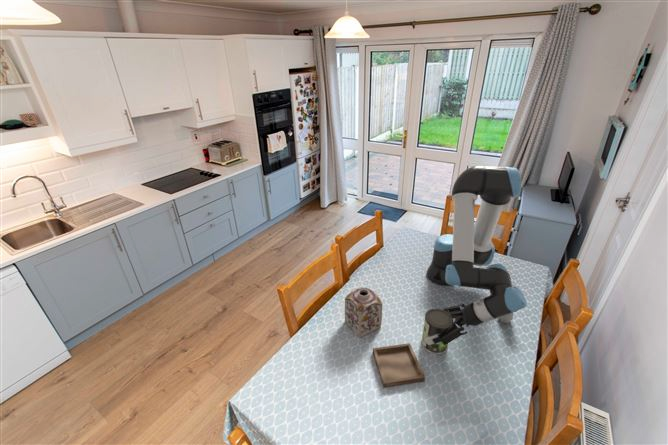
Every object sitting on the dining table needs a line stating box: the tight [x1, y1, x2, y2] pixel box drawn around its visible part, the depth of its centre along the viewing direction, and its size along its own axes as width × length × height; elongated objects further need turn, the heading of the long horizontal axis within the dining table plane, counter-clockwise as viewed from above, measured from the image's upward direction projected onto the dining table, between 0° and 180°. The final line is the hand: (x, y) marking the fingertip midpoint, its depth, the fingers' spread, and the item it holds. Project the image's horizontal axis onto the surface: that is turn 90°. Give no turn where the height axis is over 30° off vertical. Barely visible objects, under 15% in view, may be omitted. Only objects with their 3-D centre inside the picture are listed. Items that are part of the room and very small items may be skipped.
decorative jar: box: [344, 286, 383, 338], centre depth 130 cm, size 12×12×18 cm
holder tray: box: [372, 342, 426, 389], centre depth 115 cm, size 15×15×2 cm
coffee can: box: [421, 308, 454, 355], centre depth 121 cm, size 10×10×14 cm
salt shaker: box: [497, 312, 514, 324], centre depth 132 cm, size 6×6×13 cm
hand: (428, 331), depth 123 cm, fingers closed on coffee can, 10 cm apart
